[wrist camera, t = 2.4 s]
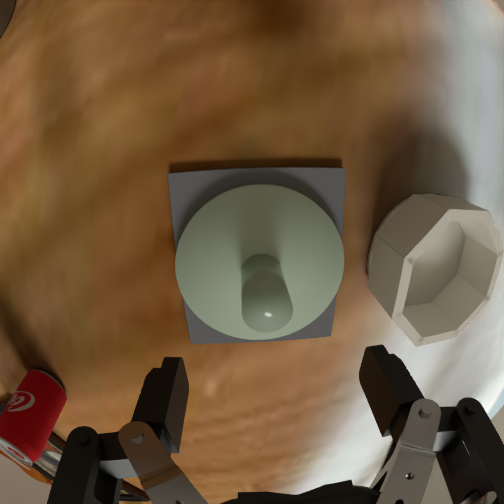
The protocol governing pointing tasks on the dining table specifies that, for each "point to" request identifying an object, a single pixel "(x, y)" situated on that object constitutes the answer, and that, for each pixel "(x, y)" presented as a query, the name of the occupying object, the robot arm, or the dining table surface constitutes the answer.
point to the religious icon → (52, 457)
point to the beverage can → (31, 416)
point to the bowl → (434, 265)
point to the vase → (436, 488)
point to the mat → (219, 180)
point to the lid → (259, 261)
